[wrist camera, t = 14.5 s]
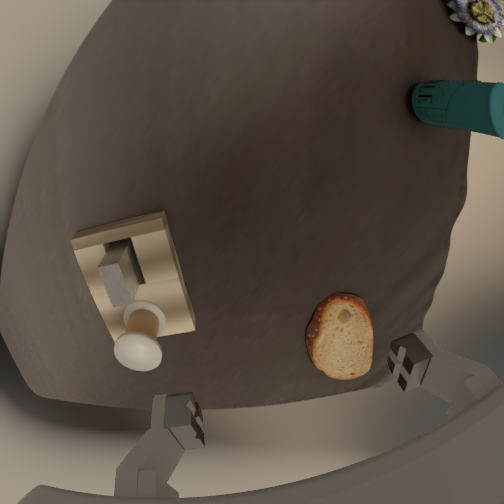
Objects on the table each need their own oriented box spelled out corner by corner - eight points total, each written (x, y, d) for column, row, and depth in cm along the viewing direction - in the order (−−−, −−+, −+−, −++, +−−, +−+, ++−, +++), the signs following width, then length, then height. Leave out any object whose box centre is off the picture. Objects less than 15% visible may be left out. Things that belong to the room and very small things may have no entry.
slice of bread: (356, 375, 54) (363, 388, 51) (278, 369, 49) (283, 385, 46) (405, 304, 48) (416, 316, 45) (326, 285, 43) (336, 299, 40)
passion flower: (432, 22, 31) (438, -16, 21) (456, -5, 27) (464, -41, 16) (483, 63, 30) (503, 33, 19) (505, 33, 25) (524, 3, 14)
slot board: (78, 231, 33) (70, 240, 31) (165, 209, 34) (161, 217, 32) (119, 329, 40) (115, 342, 38) (195, 317, 41) (195, 330, 39)
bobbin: (118, 303, 35) (106, 339, 29) (158, 296, 36) (151, 332, 29) (133, 336, 38) (125, 373, 31) (171, 330, 38) (168, 368, 32)
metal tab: (115, 237, 35) (97, 267, 28) (133, 233, 35) (118, 263, 28) (126, 272, 37) (113, 307, 30) (144, 268, 37) (133, 304, 30)
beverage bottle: (435, 128, 35) (547, 156, 17) (401, 120, 34) (523, 143, 16) (436, 86, 32) (549, 97, 14) (403, 75, 31) (524, 74, 13)
